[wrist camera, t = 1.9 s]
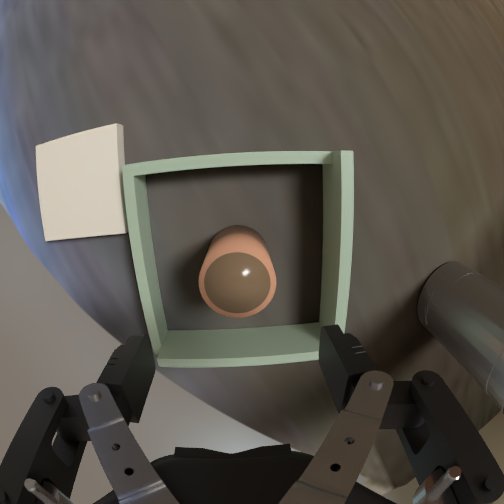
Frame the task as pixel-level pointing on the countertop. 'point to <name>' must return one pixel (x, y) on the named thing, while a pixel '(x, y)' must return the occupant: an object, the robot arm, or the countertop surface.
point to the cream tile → (82, 184)
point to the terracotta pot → (237, 273)
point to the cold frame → (260, 338)
